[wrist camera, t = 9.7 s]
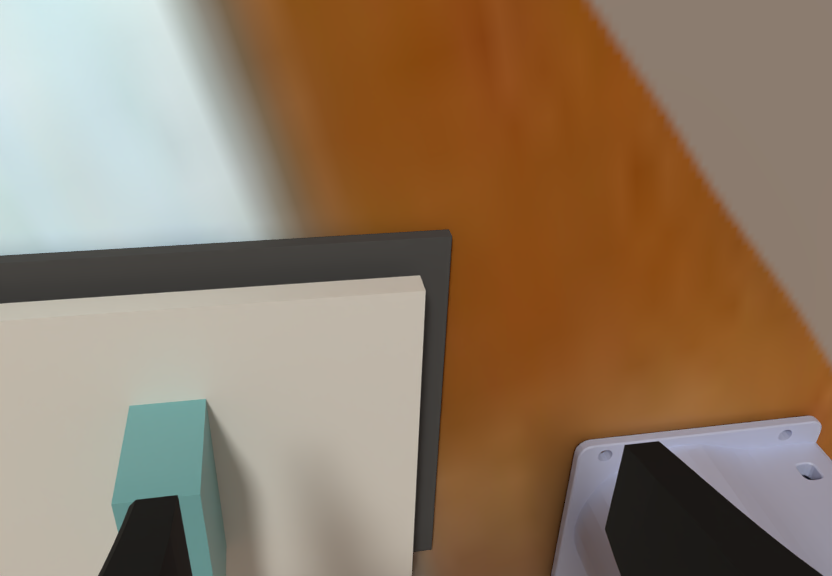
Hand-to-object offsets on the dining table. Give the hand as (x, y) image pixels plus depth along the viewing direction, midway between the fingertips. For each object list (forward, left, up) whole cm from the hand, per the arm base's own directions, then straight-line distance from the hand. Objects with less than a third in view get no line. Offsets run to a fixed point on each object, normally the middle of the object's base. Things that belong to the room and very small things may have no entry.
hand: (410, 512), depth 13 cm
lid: (+5, +7, -9) cm, 13 cm away
